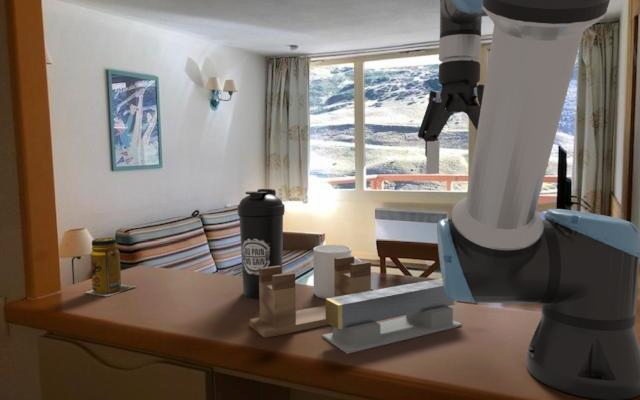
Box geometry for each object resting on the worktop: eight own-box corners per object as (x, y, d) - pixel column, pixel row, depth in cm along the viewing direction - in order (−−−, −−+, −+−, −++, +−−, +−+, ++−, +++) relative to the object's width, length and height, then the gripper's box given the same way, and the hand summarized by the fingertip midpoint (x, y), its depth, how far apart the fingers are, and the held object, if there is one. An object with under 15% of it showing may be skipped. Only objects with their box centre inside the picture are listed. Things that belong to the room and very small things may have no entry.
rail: (441, 298, 97) (442, 278, 97) (456, 304, 94) (457, 283, 93) (325, 322, 85) (325, 298, 84) (338, 329, 81) (337, 305, 81)
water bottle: (231, 298, 110) (228, 191, 107) (251, 285, 119) (249, 187, 117) (275, 302, 107) (273, 192, 104) (292, 288, 116) (290, 188, 114)
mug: (372, 294, 112) (373, 248, 111) (357, 304, 105) (357, 255, 104) (324, 287, 118) (324, 243, 116) (306, 296, 110) (306, 250, 109)
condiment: (83, 293, 114) (80, 240, 113) (114, 283, 122) (112, 234, 120) (106, 297, 111) (103, 243, 110) (136, 287, 118) (134, 236, 117)
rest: (461, 325, 92) (462, 307, 92) (347, 353, 80) (347, 332, 80) (431, 313, 99) (432, 296, 99) (322, 337, 87) (322, 317, 87)
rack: (379, 314, 99) (379, 261, 97) (264, 338, 87) (263, 278, 86) (359, 304, 105) (359, 254, 103) (249, 325, 93) (248, 269, 92)
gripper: (529, 53, 86) (524, 178, 89) (429, 71, 108) (428, 171, 110) (498, 49, 83) (494, 180, 85) (401, 69, 104) (400, 172, 107)
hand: (456, 175), depth 98 cm, fingers open, 13 cm apart
